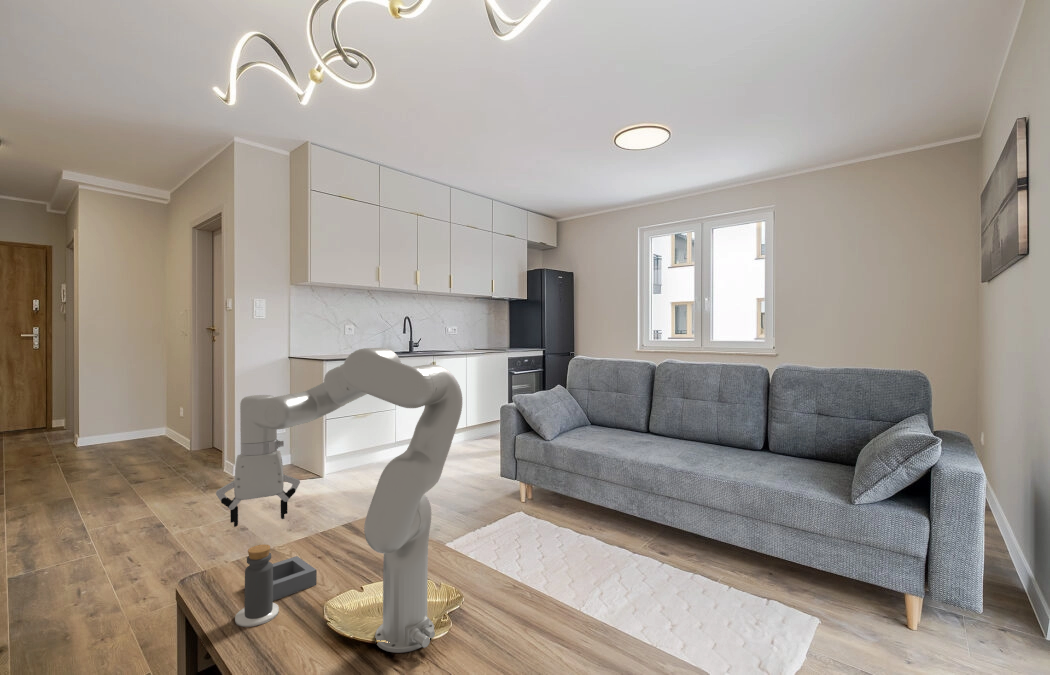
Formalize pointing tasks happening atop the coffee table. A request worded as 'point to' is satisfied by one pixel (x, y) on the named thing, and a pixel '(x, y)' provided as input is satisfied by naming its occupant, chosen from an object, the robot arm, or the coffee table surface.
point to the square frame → (292, 577)
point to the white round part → (246, 622)
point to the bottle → (258, 582)
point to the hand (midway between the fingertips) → (259, 521)
